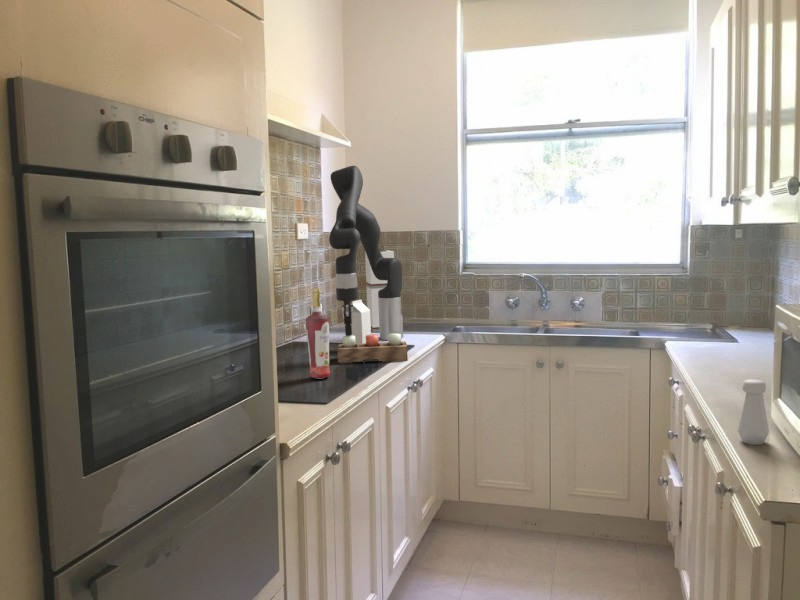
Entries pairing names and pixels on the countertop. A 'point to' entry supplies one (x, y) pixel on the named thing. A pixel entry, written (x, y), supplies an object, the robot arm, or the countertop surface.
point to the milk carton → (360, 321)
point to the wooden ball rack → (373, 352)
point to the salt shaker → (753, 414)
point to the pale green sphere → (349, 341)
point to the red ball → (372, 340)
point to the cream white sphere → (394, 339)
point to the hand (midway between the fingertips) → (348, 335)
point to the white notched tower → (374, 291)
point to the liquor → (318, 339)
